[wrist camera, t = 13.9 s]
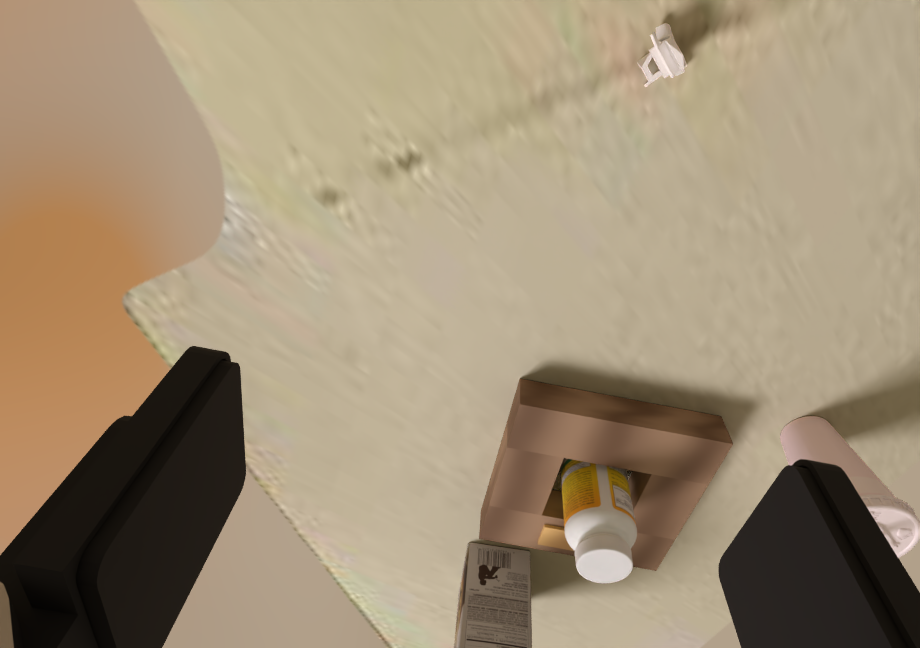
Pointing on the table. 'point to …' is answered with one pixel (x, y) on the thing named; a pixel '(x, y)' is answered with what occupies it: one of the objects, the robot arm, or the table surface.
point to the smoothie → (853, 478)
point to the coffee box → (494, 599)
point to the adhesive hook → (663, 55)
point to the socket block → (605, 443)
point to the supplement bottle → (598, 519)
